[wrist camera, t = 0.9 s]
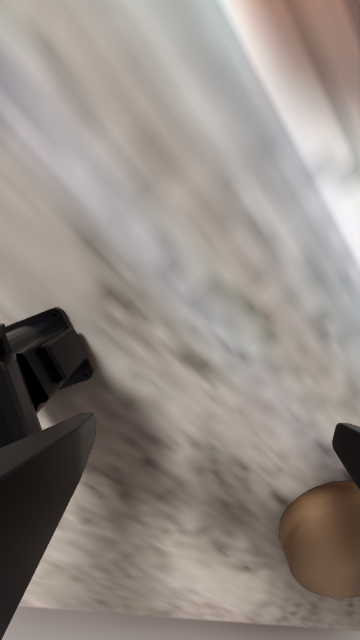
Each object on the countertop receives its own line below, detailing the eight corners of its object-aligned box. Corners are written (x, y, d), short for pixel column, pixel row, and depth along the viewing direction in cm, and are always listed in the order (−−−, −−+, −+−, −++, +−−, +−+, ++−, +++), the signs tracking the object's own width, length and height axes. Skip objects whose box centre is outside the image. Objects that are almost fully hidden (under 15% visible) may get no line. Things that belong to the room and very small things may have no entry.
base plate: (294, 579, 28) (305, 609, 26) (265, 500, 25) (273, 527, 23) (404, 552, 27) (425, 581, 25) (386, 466, 24) (408, 490, 22)
